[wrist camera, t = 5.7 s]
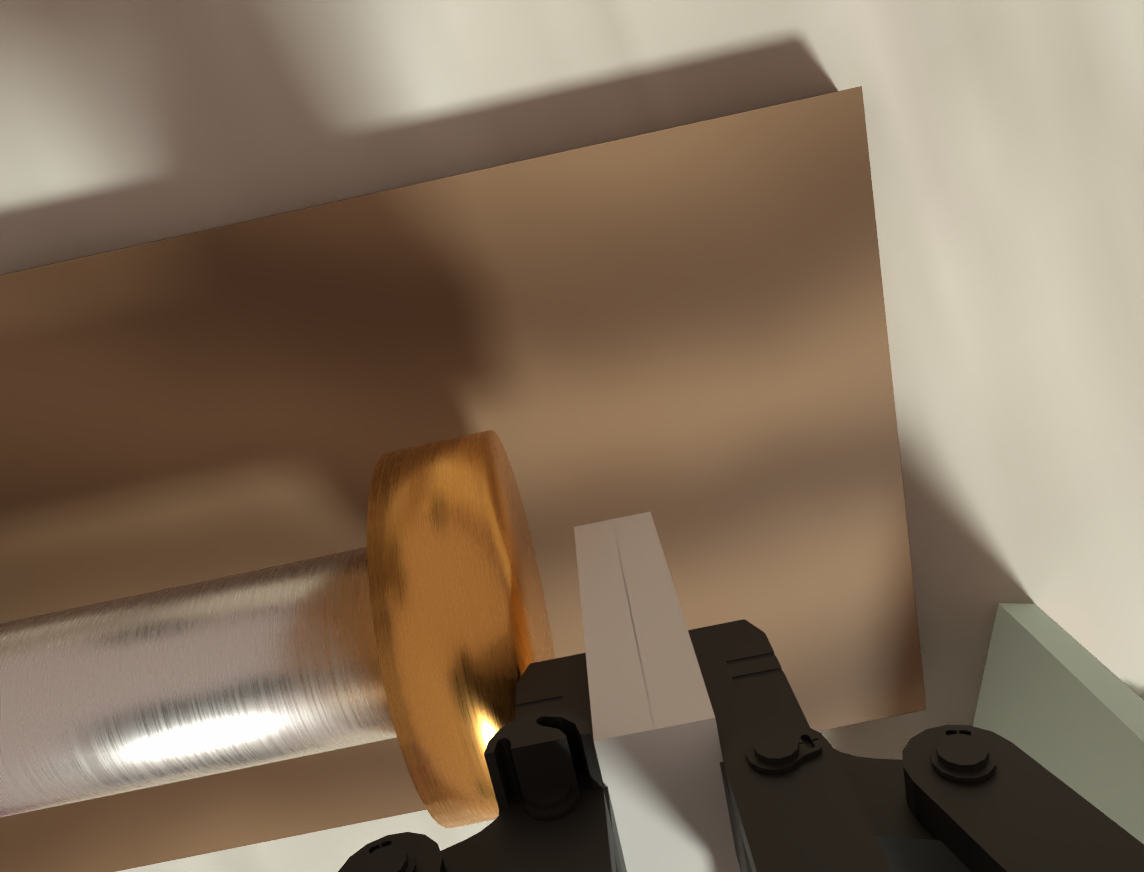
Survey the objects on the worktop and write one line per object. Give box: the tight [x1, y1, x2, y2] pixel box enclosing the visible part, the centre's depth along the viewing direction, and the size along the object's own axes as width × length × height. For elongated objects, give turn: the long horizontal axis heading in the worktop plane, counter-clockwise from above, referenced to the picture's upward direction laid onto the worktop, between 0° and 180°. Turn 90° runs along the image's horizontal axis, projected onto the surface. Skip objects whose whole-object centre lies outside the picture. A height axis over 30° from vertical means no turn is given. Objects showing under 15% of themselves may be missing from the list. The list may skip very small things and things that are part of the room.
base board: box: [0, 86, 926, 872], centre depth 23 cm, size 16×36×2 cm, turn 102°
